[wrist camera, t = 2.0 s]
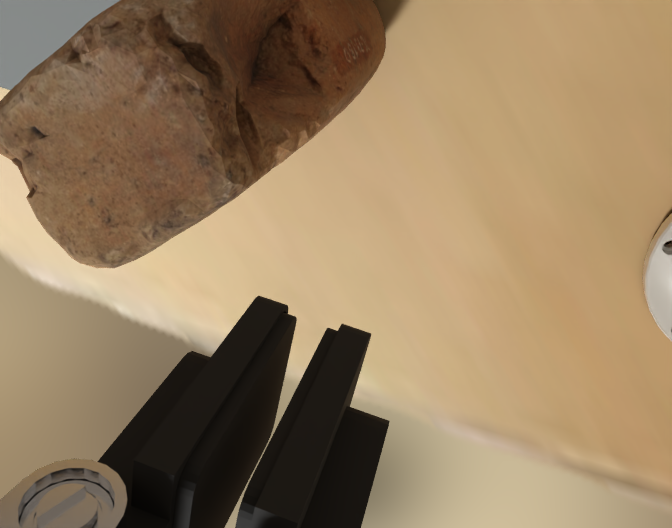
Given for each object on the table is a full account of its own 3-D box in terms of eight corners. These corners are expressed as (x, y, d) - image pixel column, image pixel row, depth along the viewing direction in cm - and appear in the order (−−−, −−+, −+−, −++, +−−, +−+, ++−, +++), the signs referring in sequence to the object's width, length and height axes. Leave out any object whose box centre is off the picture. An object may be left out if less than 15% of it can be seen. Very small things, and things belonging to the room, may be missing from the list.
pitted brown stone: (261, 142, 38) (75, 306, 21) (193, 33, 36) (-78, 119, 19) (411, 56, 34) (332, 176, 17) (345, -74, 32) (173, -91, 14)
